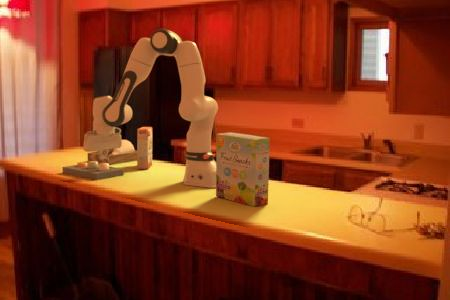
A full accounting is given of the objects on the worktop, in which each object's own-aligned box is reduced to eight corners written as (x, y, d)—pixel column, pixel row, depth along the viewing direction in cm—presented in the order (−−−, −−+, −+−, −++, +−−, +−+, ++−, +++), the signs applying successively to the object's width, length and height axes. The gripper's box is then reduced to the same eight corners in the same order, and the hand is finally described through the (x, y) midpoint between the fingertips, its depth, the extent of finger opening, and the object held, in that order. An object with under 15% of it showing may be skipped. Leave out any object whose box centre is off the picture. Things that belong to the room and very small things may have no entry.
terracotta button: (90, 171, 245) (89, 163, 244) (81, 173, 241) (81, 164, 240) (83, 170, 248) (83, 161, 247) (75, 171, 244) (75, 163, 243)
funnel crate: (142, 159, 284) (142, 151, 283) (107, 165, 264) (107, 156, 263) (122, 156, 294) (122, 148, 293) (87, 161, 274) (87, 152, 273)
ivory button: (111, 172, 235) (111, 163, 235) (103, 174, 231) (102, 165, 231) (104, 171, 238) (104, 162, 238) (96, 173, 234) (95, 163, 234)
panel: (123, 175, 238) (123, 169, 238) (97, 180, 226) (97, 173, 225) (89, 168, 254) (89, 162, 253) (62, 173, 241) (62, 167, 241)
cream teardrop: (108, 146, 268) (124, 135, 284) (96, 158, 273) (113, 147, 289) (122, 162, 269) (138, 150, 285) (110, 173, 274) (126, 161, 290)
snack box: (213, 197, 197) (214, 133, 194) (229, 193, 203) (230, 131, 200) (254, 207, 182) (255, 138, 178) (269, 203, 188) (271, 136, 184)
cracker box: (148, 169, 254) (148, 129, 251) (136, 169, 254) (136, 129, 251) (153, 165, 267) (152, 126, 264) (141, 164, 268) (141, 126, 265)
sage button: (100, 170, 240) (100, 161, 239) (92, 172, 236) (91, 163, 235) (93, 169, 243) (93, 160, 242) (85, 170, 239) (85, 162, 238)
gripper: (88, 132, 222) (89, 162, 224) (123, 129, 238) (123, 157, 240) (80, 131, 226) (80, 161, 228) (114, 128, 242) (115, 156, 244)
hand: (103, 159), depth 234 cm, fingers closed
